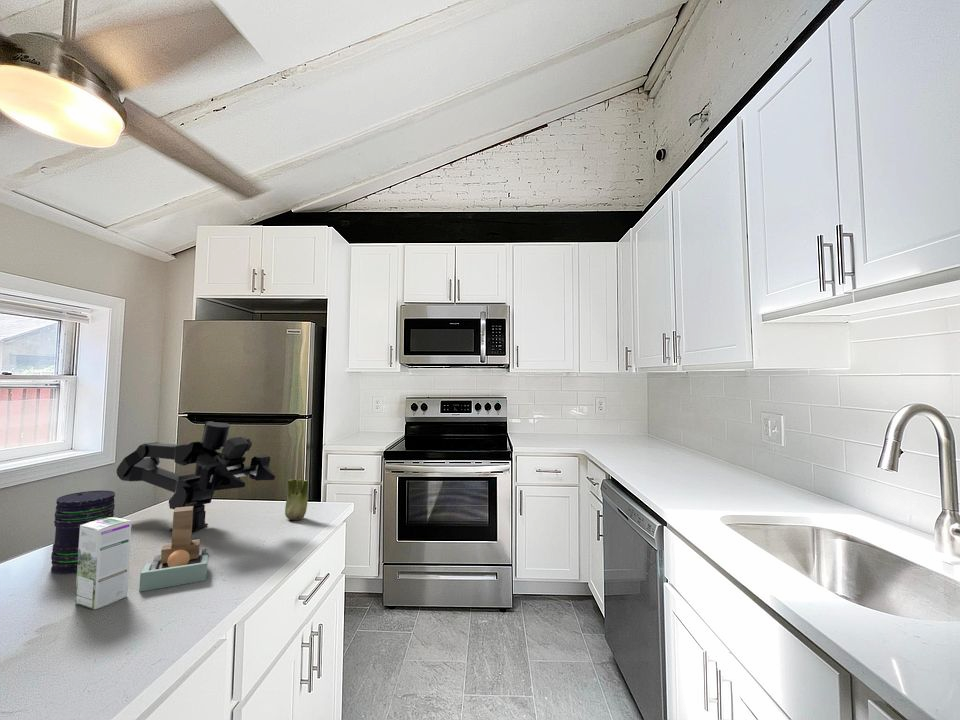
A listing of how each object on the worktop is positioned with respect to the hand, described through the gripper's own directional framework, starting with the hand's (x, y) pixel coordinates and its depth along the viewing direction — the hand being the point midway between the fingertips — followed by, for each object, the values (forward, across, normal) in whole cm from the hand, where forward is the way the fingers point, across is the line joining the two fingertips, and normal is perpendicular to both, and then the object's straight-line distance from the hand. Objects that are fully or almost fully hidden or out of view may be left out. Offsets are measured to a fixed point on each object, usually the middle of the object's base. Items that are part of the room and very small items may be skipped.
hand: (260, 481), depth 111 cm
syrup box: (+1, -33, +16) cm, 36 cm away
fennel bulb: (-2, +19, +17) cm, 25 cm away
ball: (0, -18, +16) cm, 24 cm away
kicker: (-4, -15, +17) cm, 23 cm away
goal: (+4, -21, +15) cm, 26 cm away
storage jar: (-20, -25, +20) cm, 38 cm away
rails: (-2, -16, +16) cm, 23 cm away
